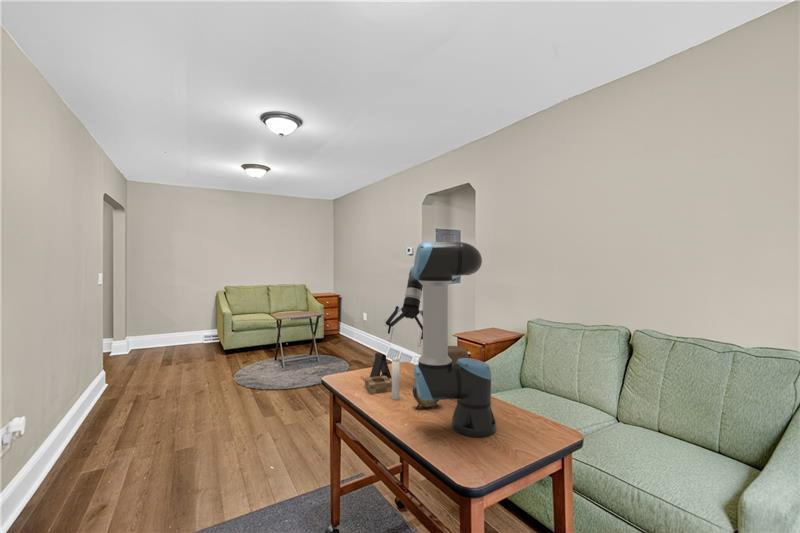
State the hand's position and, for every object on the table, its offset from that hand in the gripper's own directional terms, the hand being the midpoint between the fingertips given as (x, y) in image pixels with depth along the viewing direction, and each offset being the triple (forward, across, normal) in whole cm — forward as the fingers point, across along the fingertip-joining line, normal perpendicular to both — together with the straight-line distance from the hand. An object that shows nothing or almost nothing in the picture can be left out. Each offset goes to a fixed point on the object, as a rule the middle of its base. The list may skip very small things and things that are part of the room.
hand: (404, 343), depth 162 cm
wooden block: (+17, -25, -6) cm, 31 cm away
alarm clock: (+24, -15, +8) cm, 30 cm away
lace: (+18, +18, -15) cm, 30 cm away
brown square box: (+21, +9, -6) cm, 24 cm away
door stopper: (+16, +12, -20) cm, 28 cm away
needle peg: (+23, -1, +2) cm, 23 cm away
